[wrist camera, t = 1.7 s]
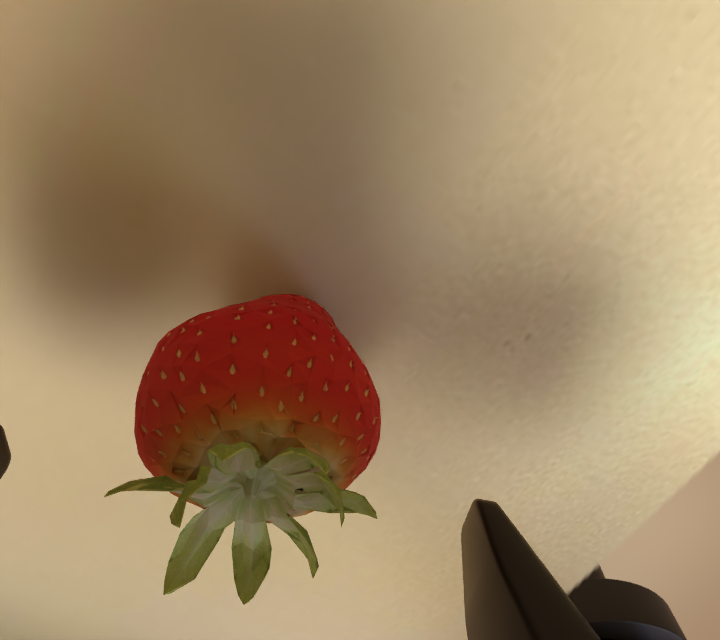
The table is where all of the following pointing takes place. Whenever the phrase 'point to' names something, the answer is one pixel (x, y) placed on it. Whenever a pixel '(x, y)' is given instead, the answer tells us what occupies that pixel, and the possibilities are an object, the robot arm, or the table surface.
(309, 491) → the fruit
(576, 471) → the table surface
